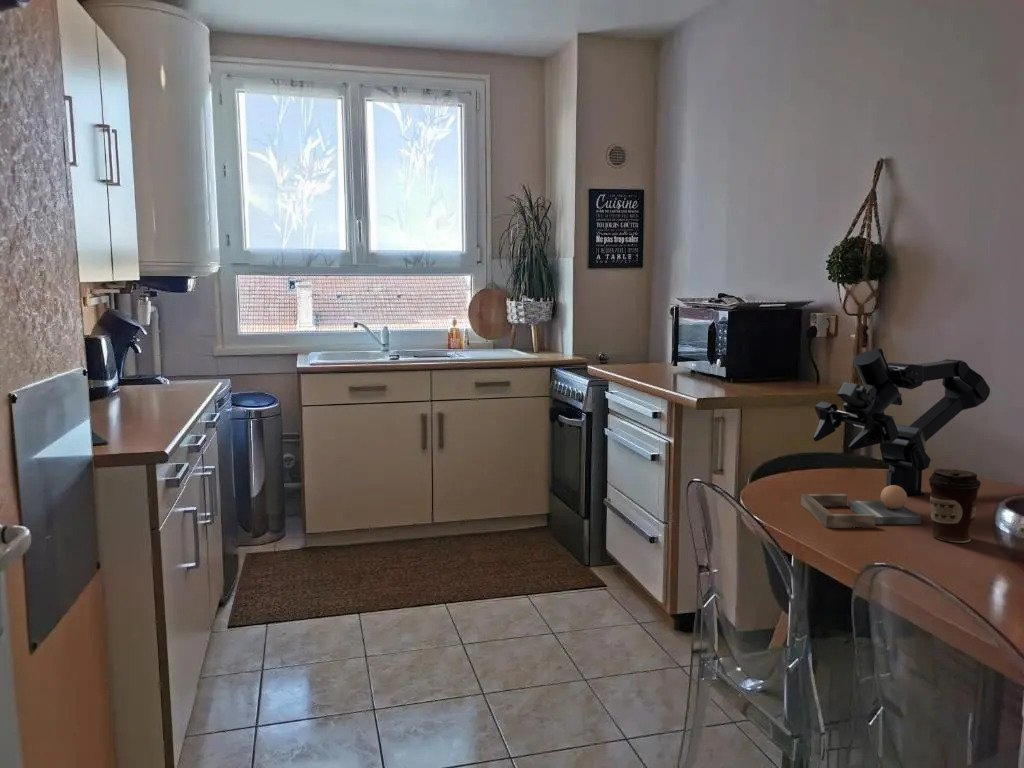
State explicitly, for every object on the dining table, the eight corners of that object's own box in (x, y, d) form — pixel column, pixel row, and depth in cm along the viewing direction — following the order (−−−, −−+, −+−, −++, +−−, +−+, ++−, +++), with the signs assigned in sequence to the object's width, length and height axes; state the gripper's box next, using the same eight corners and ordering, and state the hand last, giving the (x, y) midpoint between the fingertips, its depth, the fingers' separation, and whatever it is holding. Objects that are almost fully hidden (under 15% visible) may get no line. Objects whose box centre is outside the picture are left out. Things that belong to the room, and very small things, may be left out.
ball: (900, 505, 165) (901, 482, 164) (910, 512, 160) (911, 488, 159) (876, 505, 165) (877, 482, 165) (886, 512, 160) (887, 488, 160)
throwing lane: (891, 504, 171) (891, 493, 170) (926, 527, 154) (926, 515, 154) (801, 505, 172) (801, 494, 172) (826, 527, 156) (826, 515, 155)
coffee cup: (957, 548, 142) (961, 479, 140) (916, 536, 149) (918, 470, 148) (986, 540, 146) (990, 473, 144) (944, 529, 153) (947, 464, 152)
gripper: (829, 367, 178) (785, 408, 174) (902, 378, 162) (857, 424, 157) (843, 404, 183) (802, 445, 178) (916, 419, 166) (873, 465, 162)
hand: (831, 444), depth 169 cm, fingers open, 9 cm apart
